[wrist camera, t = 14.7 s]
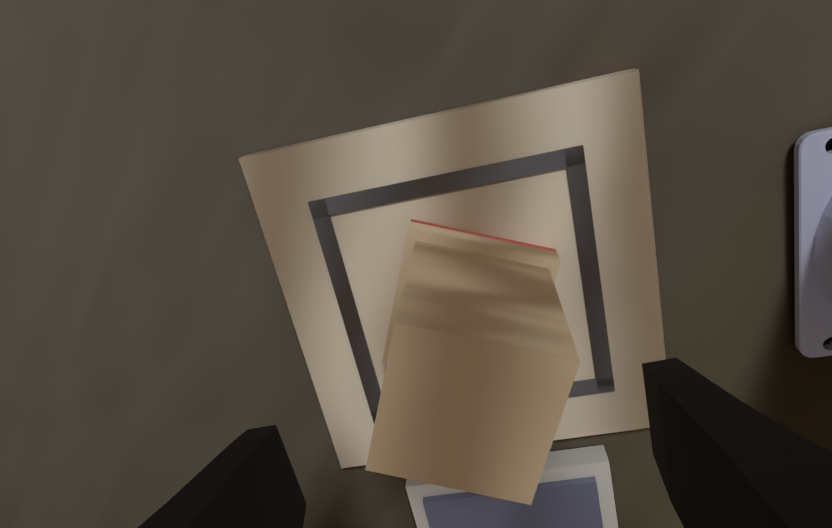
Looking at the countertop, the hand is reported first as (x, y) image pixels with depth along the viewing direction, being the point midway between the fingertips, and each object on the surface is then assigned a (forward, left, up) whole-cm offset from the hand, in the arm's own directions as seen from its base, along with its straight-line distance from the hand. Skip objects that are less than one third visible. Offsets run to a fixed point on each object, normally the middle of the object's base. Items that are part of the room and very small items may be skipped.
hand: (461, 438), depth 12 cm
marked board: (0, +2, -10) cm, 11 cm away
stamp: (0, +2, -10) cm, 10 cm away
